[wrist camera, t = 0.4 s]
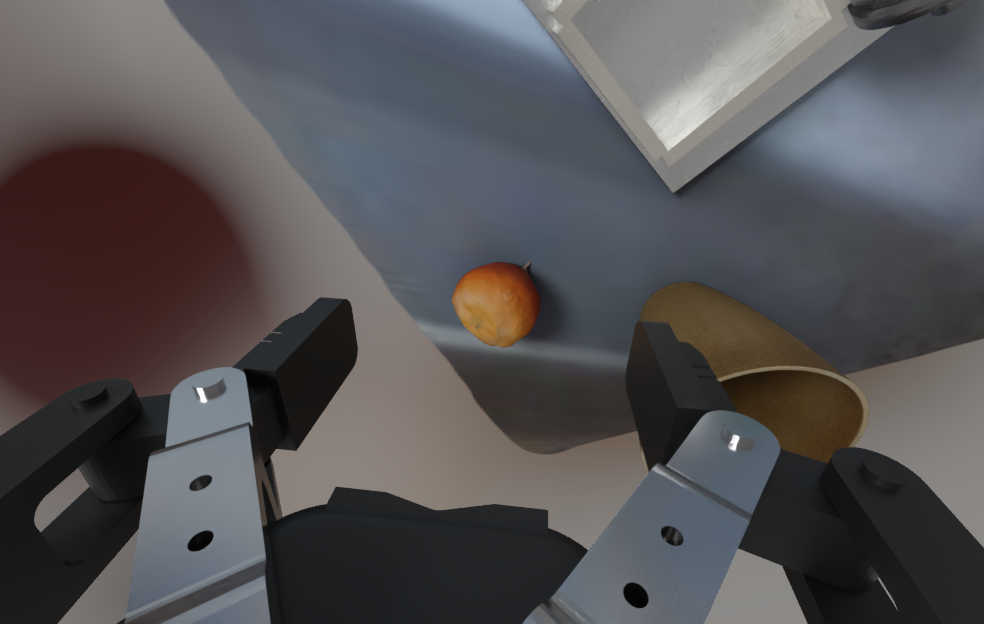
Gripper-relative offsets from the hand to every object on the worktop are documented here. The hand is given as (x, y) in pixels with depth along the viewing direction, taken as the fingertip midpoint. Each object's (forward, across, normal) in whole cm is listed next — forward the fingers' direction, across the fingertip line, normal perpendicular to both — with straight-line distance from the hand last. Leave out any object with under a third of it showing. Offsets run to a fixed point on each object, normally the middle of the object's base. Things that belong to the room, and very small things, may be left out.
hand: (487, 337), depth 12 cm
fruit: (+28, +2, +11) cm, 30 cm away
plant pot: (+30, -16, +13) cm, 36 cm away
